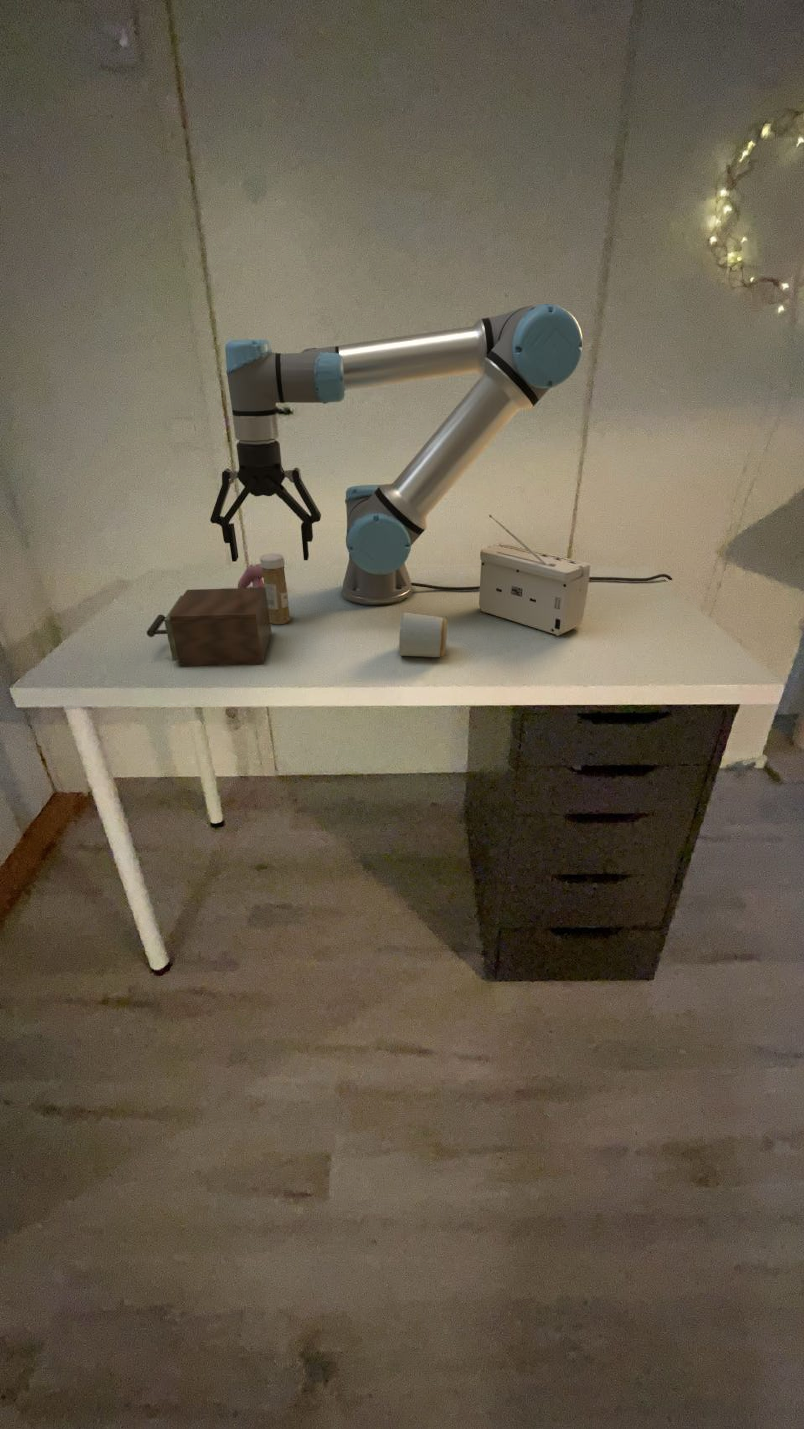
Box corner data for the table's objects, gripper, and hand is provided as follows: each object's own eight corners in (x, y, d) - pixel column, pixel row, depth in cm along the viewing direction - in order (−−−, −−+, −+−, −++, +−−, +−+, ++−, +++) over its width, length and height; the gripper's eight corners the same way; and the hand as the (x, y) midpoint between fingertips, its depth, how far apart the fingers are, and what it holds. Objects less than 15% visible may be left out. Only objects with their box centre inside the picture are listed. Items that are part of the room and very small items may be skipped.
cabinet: (179, 666, 116) (169, 616, 110) (195, 636, 126) (186, 589, 121) (262, 664, 116) (255, 613, 111) (271, 634, 127) (265, 587, 122)
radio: (583, 627, 128) (598, 525, 117) (561, 640, 123) (575, 534, 112) (496, 601, 140) (503, 506, 130) (473, 612, 135) (477, 514, 124)
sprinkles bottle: (294, 621, 132) (287, 556, 125) (273, 627, 130) (265, 561, 123) (284, 614, 135) (277, 550, 128) (264, 619, 133) (255, 555, 126)
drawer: (148, 661, 115) (138, 620, 111) (165, 634, 125) (157, 596, 121) (249, 658, 116) (243, 617, 112) (258, 631, 126) (253, 593, 122)
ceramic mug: (444, 664, 115) (445, 624, 111) (398, 662, 116) (398, 622, 112) (447, 640, 124) (449, 601, 120) (405, 638, 125) (404, 600, 121)
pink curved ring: (281, 600, 146) (287, 569, 145) (267, 597, 142) (274, 565, 141) (248, 592, 150) (254, 562, 149) (234, 589, 146) (240, 558, 145)
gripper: (329, 436, 118) (336, 551, 129) (191, 438, 117) (209, 553, 128) (327, 443, 112) (334, 563, 123) (180, 445, 111) (201, 566, 122)
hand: (270, 559), depth 126 cm, fingers open, 13 cm apart
